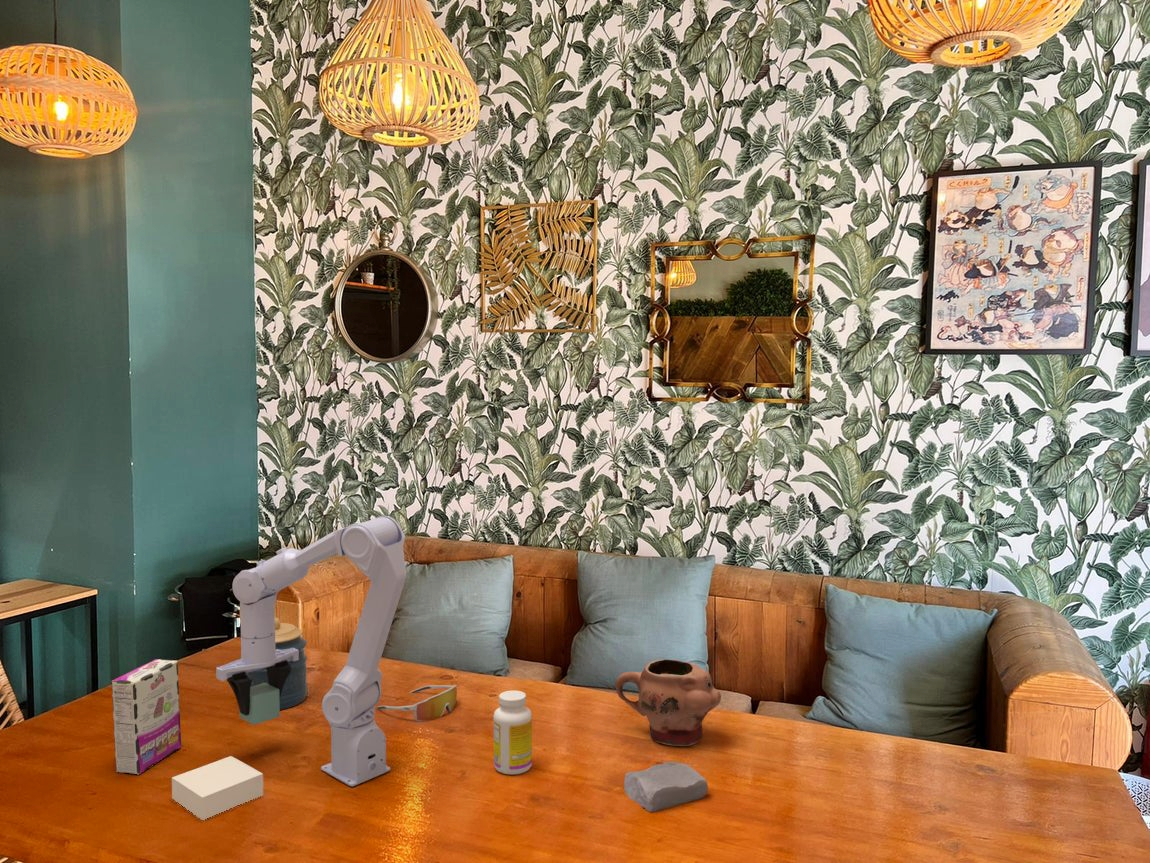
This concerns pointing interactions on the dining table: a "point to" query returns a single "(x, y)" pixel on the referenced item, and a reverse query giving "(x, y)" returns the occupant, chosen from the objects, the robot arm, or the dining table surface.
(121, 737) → the candy bar box
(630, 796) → the stone block
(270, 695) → the teal cube
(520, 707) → the supplement bottle
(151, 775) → the dining table surface
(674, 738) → the sculpted ceramic mug
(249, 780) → the cream block
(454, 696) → the sunglasses
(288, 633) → the canister
